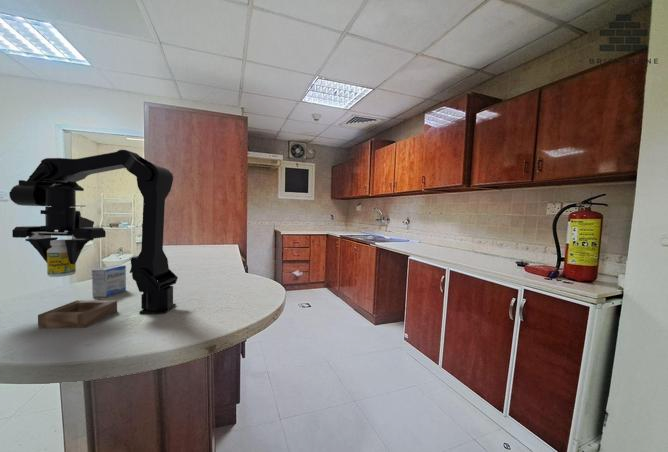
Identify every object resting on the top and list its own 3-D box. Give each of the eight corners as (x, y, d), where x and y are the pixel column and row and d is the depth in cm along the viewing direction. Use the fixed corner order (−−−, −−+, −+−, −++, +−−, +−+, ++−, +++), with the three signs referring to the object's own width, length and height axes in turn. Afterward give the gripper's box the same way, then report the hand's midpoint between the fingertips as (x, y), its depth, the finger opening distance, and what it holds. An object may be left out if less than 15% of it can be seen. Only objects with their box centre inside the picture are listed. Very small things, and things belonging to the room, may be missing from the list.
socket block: (117, 311, 70) (117, 300, 70) (85, 327, 60) (85, 314, 60) (76, 311, 69) (76, 300, 69) (38, 327, 59) (37, 314, 59)
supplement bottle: (77, 272, 75) (77, 238, 75) (72, 276, 70) (72, 240, 70) (51, 273, 72) (50, 239, 72) (43, 278, 68) (43, 241, 67)
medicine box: (105, 297, 81) (105, 270, 81) (91, 297, 81) (91, 269, 81) (126, 290, 89) (126, 265, 88) (113, 289, 89) (113, 264, 88)
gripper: (119, 208, 79) (119, 259, 80) (51, 206, 77) (52, 258, 78) (88, 207, 68) (89, 266, 69) (9, 205, 66) (10, 265, 67)
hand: (61, 263), depth 71 cm, fingers closed on supplement bottle, 5 cm apart
